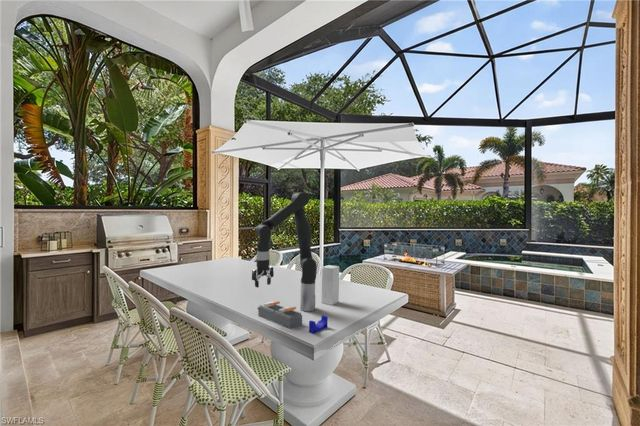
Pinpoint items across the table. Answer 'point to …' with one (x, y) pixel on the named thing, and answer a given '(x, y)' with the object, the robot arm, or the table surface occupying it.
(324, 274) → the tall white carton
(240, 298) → the table surface
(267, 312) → the box
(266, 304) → the rocker
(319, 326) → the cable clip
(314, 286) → the robot arm
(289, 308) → the block
